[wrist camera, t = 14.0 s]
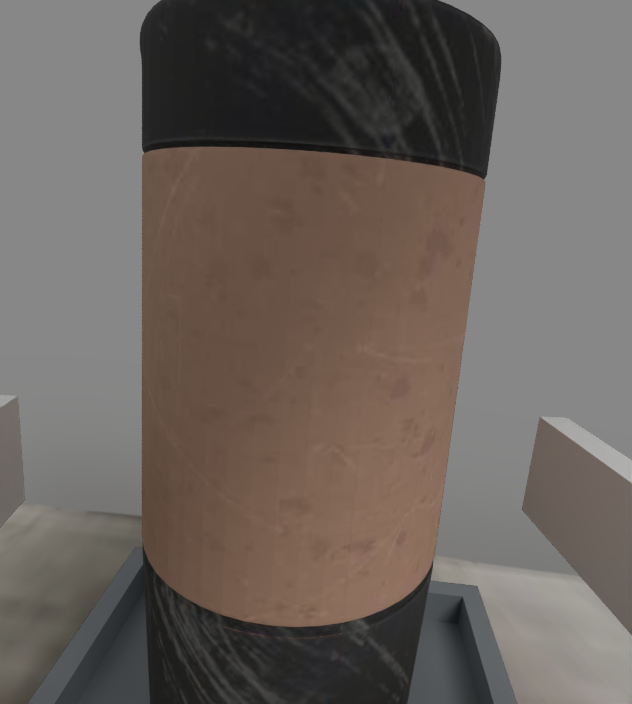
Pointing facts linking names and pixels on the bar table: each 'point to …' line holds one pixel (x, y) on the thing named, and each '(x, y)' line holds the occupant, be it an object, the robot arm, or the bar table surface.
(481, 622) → the tray
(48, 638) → the bar table surface
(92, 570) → the bar table surface
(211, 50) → the travel mug
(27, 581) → the bar table surface
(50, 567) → the bar table surface
